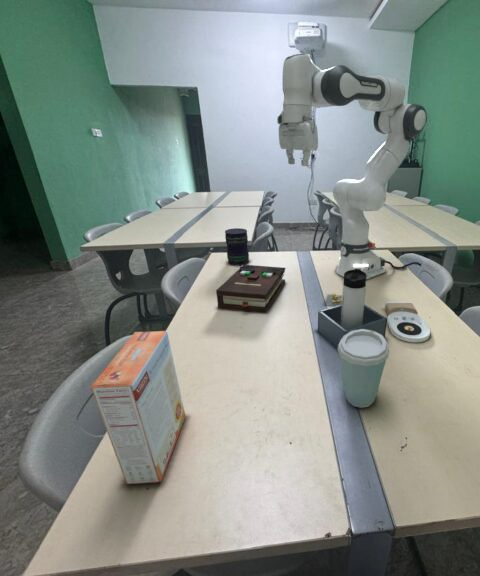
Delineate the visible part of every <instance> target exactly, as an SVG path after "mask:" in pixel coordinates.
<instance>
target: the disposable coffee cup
mask: <svg viewBox="0 0 480 576" xmlns="http://www.w3.org/2000/svg"><path fill="white" fill-rule="evenodd" d="M336 350H337V351H338V355H339V362H340V370H341V376H342V377H341V378H342V384H343V385H342V386H343V391H344V395H345V398H346V400H347V403H349V404H350V405H351V406H353V407H357V408H361V409H362V408H367V407H370V406H371V405H373V404H374V402H375V401H376V397H377V393H378V391H379V387H380V383H381V380H382V377H383V372H384V369H385V366H386V362H387V360H388V359H389V353H390V346H389V344H388V341H387V340H386V338H385V339H384V337H383V336H382V335H381V334H379V333H377V332H375V331H371V330H366V329H359V330H354V331H351V332H349V333H347V334H346V335H344V336H343V338H342V339H341V341H340V343H339V345H338V349H337V348H336Z"/></svg>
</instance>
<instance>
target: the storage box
mask: <svg viewBox="0 0 480 576" xmlns="http://www.w3.org/2000/svg"><path fill="white" fill-rule="evenodd" d="M341 310H342V304H341V305H338V306H330V307H327V308H325V309H321V310H318V312H317V332H318V334H320V335H321V336H322V337H323V338H324V339H326V340H327V341H328V342H329V343H331V344H332V345H333V346H334V347H335V348H336V350H337V349H338V345H339V343H340V341H341V339H342V338H343V336H344V335H346V334H347V333H349V332H351V331H354V330H359V329H366V330H371V331H375V332H377V333H379V334H381V335H382V336H383V337H384V339H385V340H386V331H387V326H388V323H387V318H388V317H386V316H384V315H382V313H381V314H380V313H379V312H377V311H375V310H374V309H373V308H371V307H370V306H368V305H366V304H364V311H363V322H362V326H359V327H356V328H353V329H350V330H345V329H344V328H343V327H341Z"/></svg>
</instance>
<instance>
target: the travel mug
mask: <svg viewBox="0 0 480 576" xmlns="http://www.w3.org/2000/svg"><path fill="white" fill-rule="evenodd" d="M366 277H367V275H366V273H365V272H363V271H361V269H355V270H349V271H347V272H345V273H344V277H343V281H342V282H343V283H342V294H341V295H342V310H341V327H343V328H344V329H345V330H350V329H353V328H356V327H359V326H362V322H363V311H364V305H365V298H366V288H367V280H366Z"/></svg>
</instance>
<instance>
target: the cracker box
mask: <svg viewBox="0 0 480 576" xmlns="http://www.w3.org/2000/svg"><path fill="white" fill-rule="evenodd" d="M90 390H91V393H92V396H93V398H94V400H95V403H96V407H97V409H98V411H99V414H100V417H101V419H102V421H103V424H104V425H103V426H104V427H105V430H106V432H107V436H108V438H109V441H110V443H111V446H112V449H113V452H114V454H115V456H116V459H117V462H118V465H119V468H120V470H121V471H120V472H122V476H123V478H124V481H125V483H126V485H138V484H139V485H141V484H152V483H161V482H162V481H163V479H164V476H165V474H166V470H167V469H168V465H169V463H170V460H171V457H172V454H173V452H174V449H175V446H176V444H177V441H178V438H179V436H180V433H181V431H182V427H183V425H184V422H185V421H186V420H185V419H186V418H187V417H186V411H185V408H184V402H183V398H182V394H181V389H180V384H179V379H178V375H177V371H176V365H175V362H174V356H173V352H172V347H171V343H170V339H169V334H168V331H167V330H158V331H157V330H156V331H135V332H133V334H132V335H131V336H130V338H129V339H128V340H127V341H126V343H125V344H124V345H123V346H122V348H121V349H120V350H119V351H118V352H117V354H116V355H115V356H114V357H113V358H112V360H111V361H110V363H108V365H107V366H106V368H104V370H103V371H102V373H100V375H99V376H98V377H97V378H96V380H94V382H92V384H91V385H90Z"/></svg>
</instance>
